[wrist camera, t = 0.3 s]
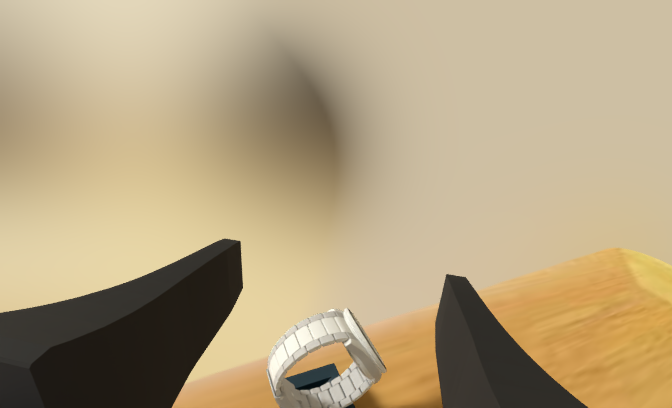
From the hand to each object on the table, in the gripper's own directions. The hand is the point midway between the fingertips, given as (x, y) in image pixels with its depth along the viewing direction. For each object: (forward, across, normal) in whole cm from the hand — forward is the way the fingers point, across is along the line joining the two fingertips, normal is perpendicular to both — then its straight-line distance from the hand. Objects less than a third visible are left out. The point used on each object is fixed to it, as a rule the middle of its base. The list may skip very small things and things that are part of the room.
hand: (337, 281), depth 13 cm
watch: (+8, +2, +20) cm, 22 cm away
